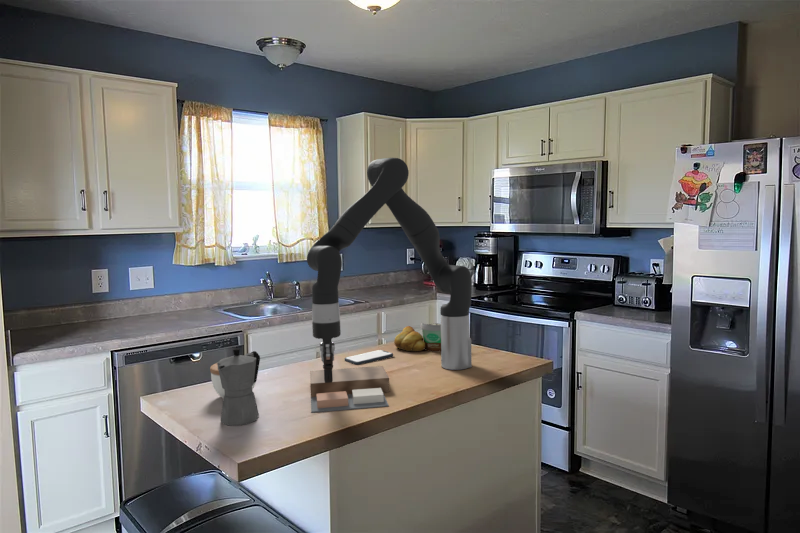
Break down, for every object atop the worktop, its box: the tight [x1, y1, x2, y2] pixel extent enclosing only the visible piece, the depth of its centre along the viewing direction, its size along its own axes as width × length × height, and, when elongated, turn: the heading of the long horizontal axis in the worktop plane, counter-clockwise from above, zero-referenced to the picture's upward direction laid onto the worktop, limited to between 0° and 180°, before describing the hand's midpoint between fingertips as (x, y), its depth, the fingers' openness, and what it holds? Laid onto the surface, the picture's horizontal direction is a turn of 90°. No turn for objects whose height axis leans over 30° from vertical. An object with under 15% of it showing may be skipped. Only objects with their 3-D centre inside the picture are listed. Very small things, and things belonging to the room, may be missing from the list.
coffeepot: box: [216, 347, 261, 427], centre depth 137 cm, size 15×9×18 cm, turn 159°
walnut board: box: [309, 365, 390, 398], centre depth 160 cm, size 22×13×4 cm, turn 100°
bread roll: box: [393, 325, 425, 352], centre depth 205 cm, size 13×10×8 cm
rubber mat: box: [310, 393, 390, 414], centre depth 148 cm, size 20×12×1 cm, turn 100°
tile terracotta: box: [316, 391, 348, 408], centre depth 146 cm, size 8×6×2 cm
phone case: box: [344, 349, 394, 366], centre depth 193 cm, size 9×2×16 cm
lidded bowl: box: [209, 362, 257, 400], centre depth 155 cm, size 13×13×11 cm
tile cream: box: [352, 388, 385, 404], centre depth 149 cm, size 8×6×2 cm
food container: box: [420, 322, 441, 352], centre depth 202 cm, size 12×6×10 cm, turn 80°
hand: (328, 381), depth 150 cm, fingers closed
